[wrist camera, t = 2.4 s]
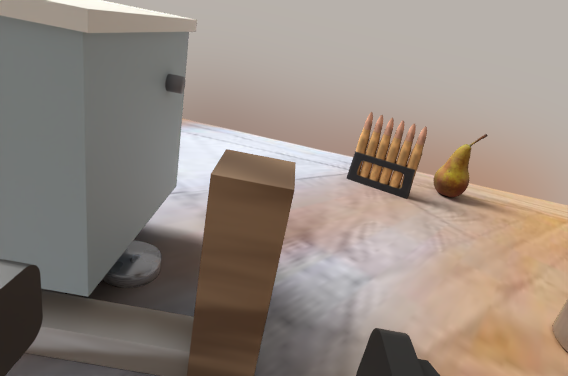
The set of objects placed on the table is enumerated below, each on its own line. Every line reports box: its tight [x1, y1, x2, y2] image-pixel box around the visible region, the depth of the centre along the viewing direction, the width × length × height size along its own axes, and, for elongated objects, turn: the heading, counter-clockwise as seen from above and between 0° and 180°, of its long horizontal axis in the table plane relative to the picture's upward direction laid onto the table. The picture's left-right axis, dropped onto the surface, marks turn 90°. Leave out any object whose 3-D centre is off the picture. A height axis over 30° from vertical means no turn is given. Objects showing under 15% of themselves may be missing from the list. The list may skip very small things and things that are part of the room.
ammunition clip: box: [347, 112, 427, 199], centre depth 62 cm, size 11×2×12 cm, turn 64°
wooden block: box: [25, 149, 295, 376], centre depth 22 cm, size 4×16×15 cm, turn 88°
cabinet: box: [0, 0, 197, 297], centre depth 29 cm, size 19×12×21 cm, turn 178°
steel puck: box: [103, 241, 161, 288], centre depth 33 cm, size 5×5×2 cm
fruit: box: [434, 134, 487, 197], centre depth 65 cm, size 6×6×12 cm
